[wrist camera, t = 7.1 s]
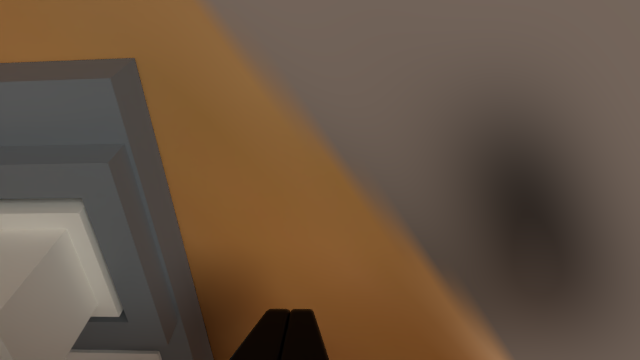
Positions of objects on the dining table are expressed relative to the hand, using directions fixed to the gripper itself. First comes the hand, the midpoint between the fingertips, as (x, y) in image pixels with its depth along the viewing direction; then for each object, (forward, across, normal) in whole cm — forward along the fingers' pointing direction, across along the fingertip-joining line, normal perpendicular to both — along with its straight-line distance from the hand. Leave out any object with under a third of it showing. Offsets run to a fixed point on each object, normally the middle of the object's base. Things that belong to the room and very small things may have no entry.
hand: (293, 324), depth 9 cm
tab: (+2, +6, 0) cm, 6 cm away
